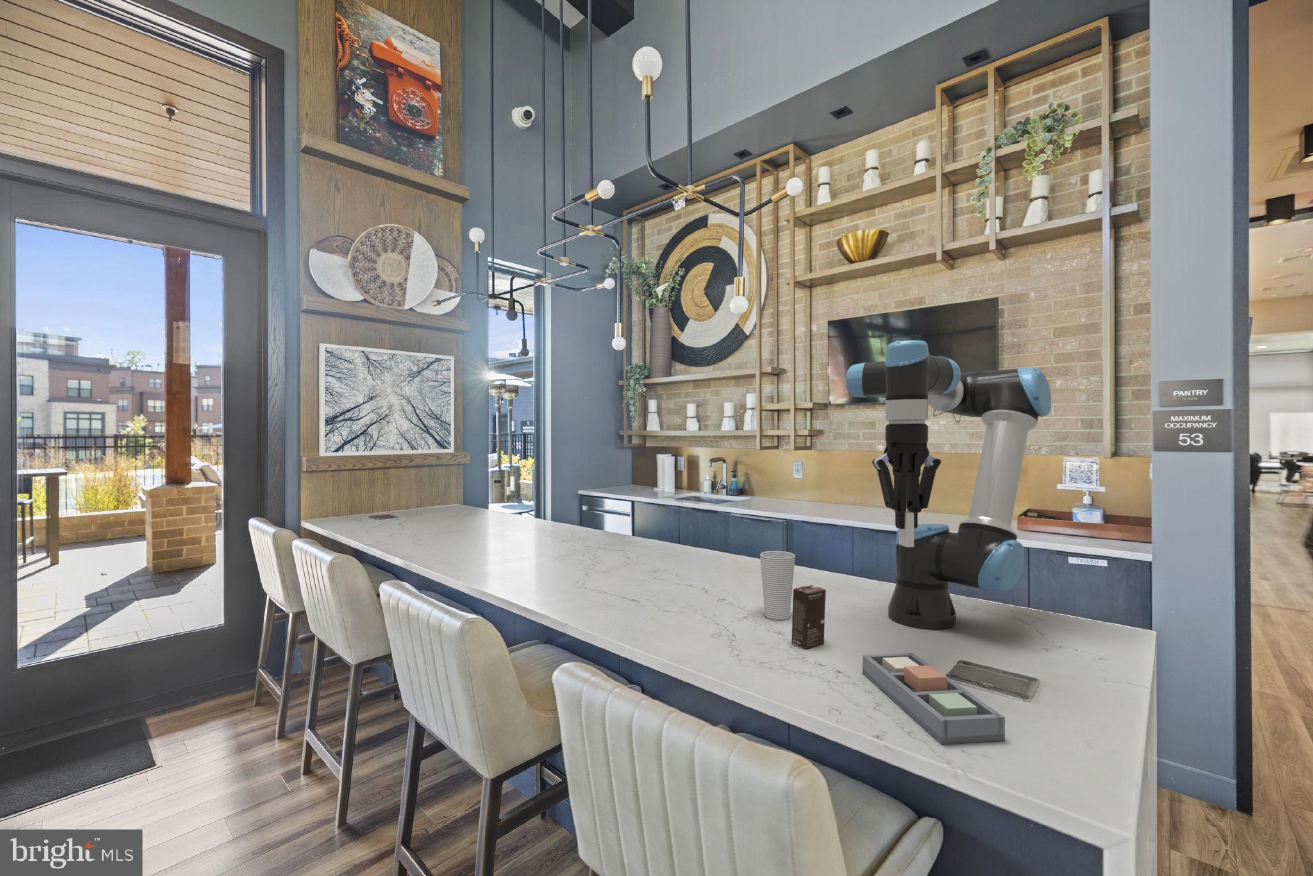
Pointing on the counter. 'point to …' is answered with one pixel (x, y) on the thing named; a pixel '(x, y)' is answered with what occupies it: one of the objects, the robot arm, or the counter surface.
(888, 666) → the key ivory
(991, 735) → the gray divided tray
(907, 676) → the key terracotta
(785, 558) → the cup
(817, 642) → the box
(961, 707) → the key sage
